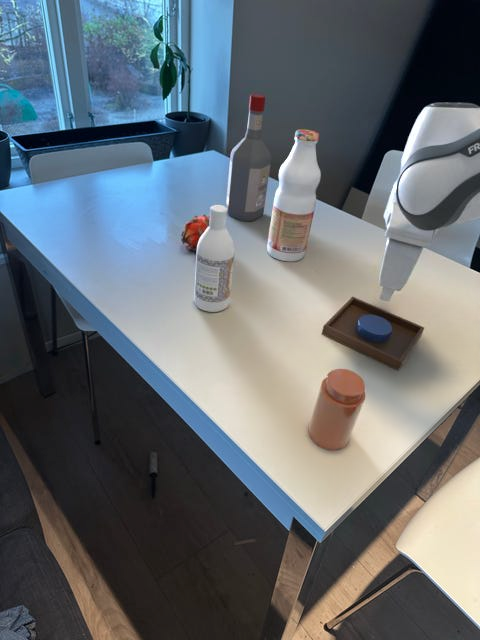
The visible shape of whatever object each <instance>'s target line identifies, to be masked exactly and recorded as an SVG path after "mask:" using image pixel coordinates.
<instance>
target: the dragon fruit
mask: <svg viewBox="0 0 480 640" xmlns="http://www.w3.org/2000/svg"><path fill="white" fill-rule="evenodd" d="M209 224H210V215H206V214H205V213H202V216H198V215H194V216H193V217H192V218H191V219H190V220H189V221H187V222H186V223H185V224H184V226H183V231H182V233H181V235H180V237H181V238H180V241H181V242H182V244H183V245H184V244H187V245H186V246H185V249H186V250H190V251H191V250H192V251H197V245H198V242H199V239H200V237H201V236H202V234H203V233H204V232H205V231H206V229H207V228H208V227H209Z"/></svg>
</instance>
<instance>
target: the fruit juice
mask: <svg viewBox="0 0 480 640" xmlns="http://www.w3.org/2000/svg"><path fill="white" fill-rule="evenodd" d="M319 137H320V133H318V132H316V131H314V130H311V129H296V131H295V134H294V145H293V146H292V149H291V151H290V153H289V155H288V156H287V158H286V159H285V160H284V162H283V163H282V164H281V165H280V167H279V170H278V187H277V189H276V191H275V194H274V198H273V203H272V212H271V218H270V225H269V230H268V237H267V244H266V250H267V253H268V255H270V256H271V257H272V258H273V259H276V260H279V261H281V262H282V261H283V262H298V261H300V260H302V259H303V258H304V257H305V255H306V252H307V247H308V243H309V237H310V233H311V228H312V225H313V224H312V223H313V219H314V213H315V209H316V206H317V205H316V204H317V193H316V192H317V189H318V186H319V185H320V182H321V177H322V174H321V173H322V172H321V169H320V167H319V164H318V159H317V149H316V148H317V147H316V146H317V144H318V142H319Z"/></svg>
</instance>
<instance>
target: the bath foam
mask: <svg viewBox="0 0 480 640" xmlns="http://www.w3.org/2000/svg"><path fill="white" fill-rule="evenodd" d="M209 209H210V210H209V217H210V224H209V227H208V228H207V229H206V231H205V232H204V233H203V234H202V236H201V237H200V239H199V242H198V245H197V249H196V253H195V254H196V255H195V258H196V259H195V274H194V275H195V277H194V278H195V279H194V293H193V295H194V296H193V300H194V304H195V306H196V307H197V308H198V309H200V310H202V311H205V312H210V313H217V312H221V311H224V310H226V309H227V308H228V306H229V305H230V298H231V288H232V280H233V270H234V261H235V244H234V240H233V238H232V236H231V234H230V232H229V230H228V229H227V216H228V215H227V214H228V212H227V208H226V205H223V204H222V205H221V204H214V205H212V206H210V208H209Z"/></svg>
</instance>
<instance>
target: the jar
mask: <svg viewBox="0 0 480 640" xmlns="http://www.w3.org/2000/svg"><path fill="white" fill-rule="evenodd" d="M326 375H327V376H326V377H325V378H324V379H323V380H322V382H321V384H320V388H319V390H318V395H317V397H316V401H315V405H314V407H313V411H312V414H311V417H310V421H309V424H308V429H307V430H308V434H309V437H310V438H311V440H312V441H313V443H315V444H316V445H317V446H319V447H321V448H323V449H325V450H330V451H336V450H341V449H343V448H345V447H346V446H347V444H348V443H349V441H350V437H351V436H352V433H353V431H354V428H355V425H356V423H357V421H358V418H359V415H360V413H361V410H362V407H363V405H364V403H365V400H366V391H365V390H366V383H365V382H364V379H363V378H362V377H361V376H360V375H359V374H358V373H356V372H355V371H353V370H350V369H347V368H336V369H333V370H330V371H329V372H328V373H327V374H326Z"/></svg>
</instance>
